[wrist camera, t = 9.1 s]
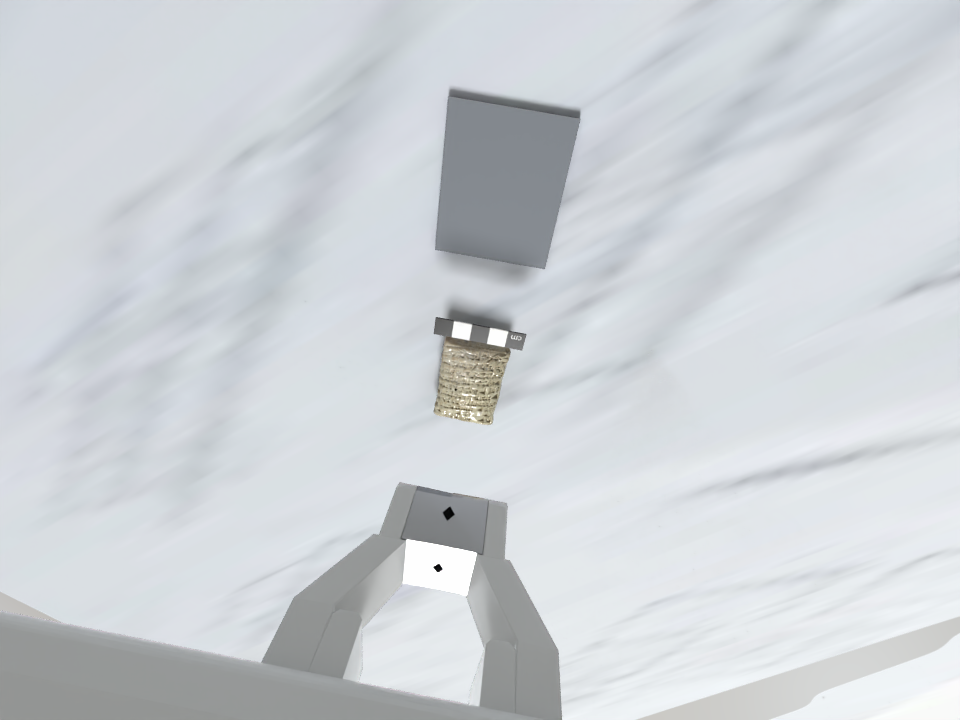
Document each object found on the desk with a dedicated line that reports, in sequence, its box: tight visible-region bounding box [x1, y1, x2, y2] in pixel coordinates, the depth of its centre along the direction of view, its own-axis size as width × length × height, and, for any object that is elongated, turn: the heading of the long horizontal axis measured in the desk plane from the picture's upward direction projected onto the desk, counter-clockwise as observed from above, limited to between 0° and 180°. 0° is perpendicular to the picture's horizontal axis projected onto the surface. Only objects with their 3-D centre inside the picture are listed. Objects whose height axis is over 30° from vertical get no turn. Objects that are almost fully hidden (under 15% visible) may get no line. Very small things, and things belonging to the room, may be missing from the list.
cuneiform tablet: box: [434, 317, 526, 425], centre depth 36 cm, size 7×4×12 cm
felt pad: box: [435, 96, 580, 269], centre depth 30 cm, size 9×10×1 cm
